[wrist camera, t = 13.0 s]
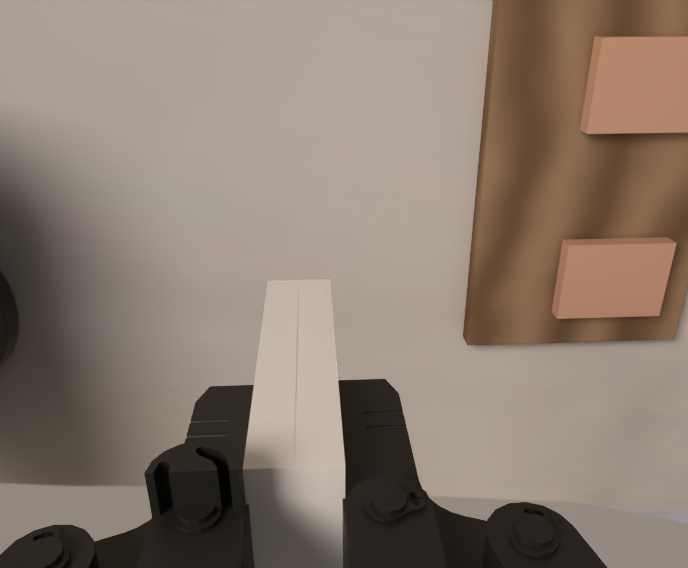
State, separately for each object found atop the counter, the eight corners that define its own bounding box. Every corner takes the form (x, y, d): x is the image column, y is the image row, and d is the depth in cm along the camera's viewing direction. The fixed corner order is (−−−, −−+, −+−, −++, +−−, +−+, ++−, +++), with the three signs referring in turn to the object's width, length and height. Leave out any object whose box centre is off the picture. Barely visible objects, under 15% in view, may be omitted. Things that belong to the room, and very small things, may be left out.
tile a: (557, 318, 47) (659, 315, 48) (568, 245, 45) (676, 243, 45) (550, 309, 49) (649, 307, 49) (561, 238, 46) (665, 235, 47)
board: (463, 335, 51) (467, 345, 50) (494, -15, 40) (501, -16, 39) (664, 329, 52) (674, 338, 51) (749, -16, 41) (764, -16, 40)
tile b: (586, 133, 42) (703, 132, 42) (602, 37, 39) (726, 36, 39) (578, 129, 43) (690, 127, 43) (592, 35, 40) (712, 35, 41)
